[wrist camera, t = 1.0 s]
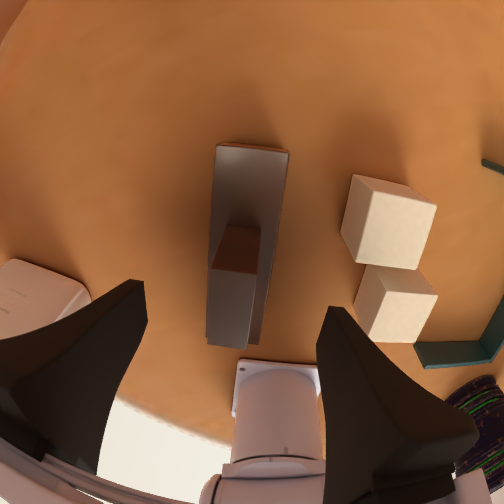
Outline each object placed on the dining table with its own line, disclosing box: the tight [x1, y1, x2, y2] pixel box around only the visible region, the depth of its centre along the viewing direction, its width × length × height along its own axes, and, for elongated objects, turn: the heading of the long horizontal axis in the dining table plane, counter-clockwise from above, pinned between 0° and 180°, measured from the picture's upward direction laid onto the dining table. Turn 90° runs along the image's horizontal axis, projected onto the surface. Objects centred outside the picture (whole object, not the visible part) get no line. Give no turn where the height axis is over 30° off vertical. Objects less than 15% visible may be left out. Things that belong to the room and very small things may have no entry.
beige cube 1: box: [353, 264, 438, 343], centre depth 18 cm, size 4×4×4 cm
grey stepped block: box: [206, 142, 289, 350], centre depth 15 cm, size 12×4×8 cm, turn 174°
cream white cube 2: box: [340, 174, 437, 270], centre depth 16 cm, size 4×4×4 cm
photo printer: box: [0, 259, 91, 340], centre depth 17 cm, size 10×4×12 cm, turn 76°
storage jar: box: [445, 375, 504, 494], centre depth 21 cm, size 10×10×15 cm
